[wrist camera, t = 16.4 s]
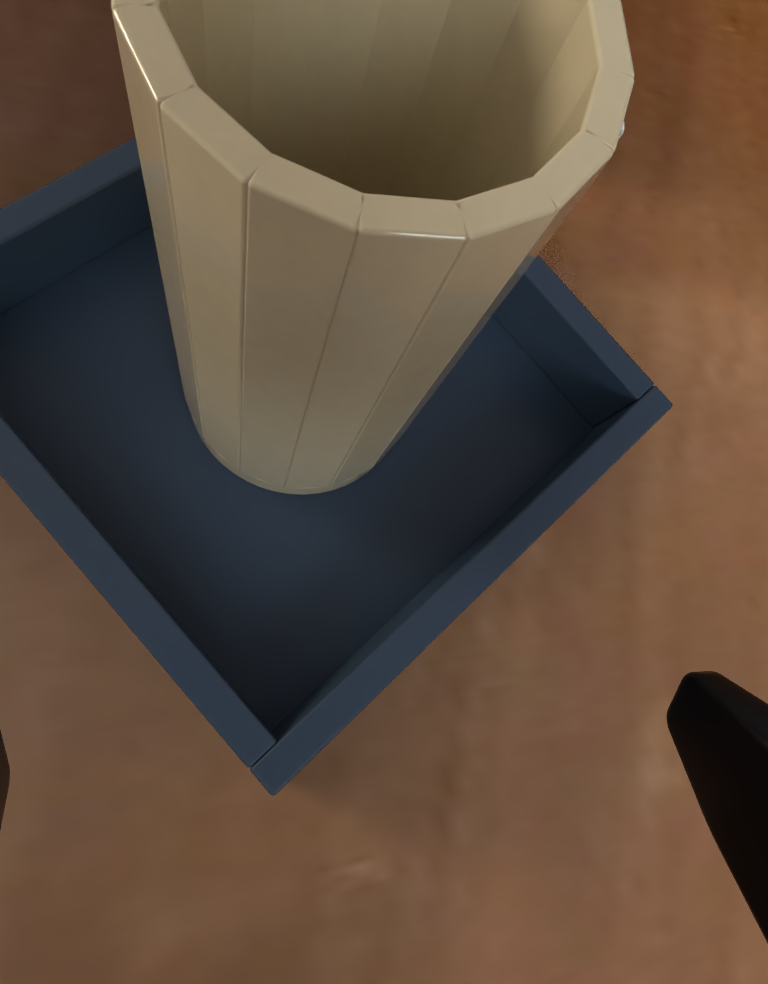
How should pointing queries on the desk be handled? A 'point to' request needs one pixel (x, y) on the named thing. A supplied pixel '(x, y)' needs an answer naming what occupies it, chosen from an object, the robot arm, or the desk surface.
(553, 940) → the desk surface
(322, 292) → the pencil cup
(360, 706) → the tray
